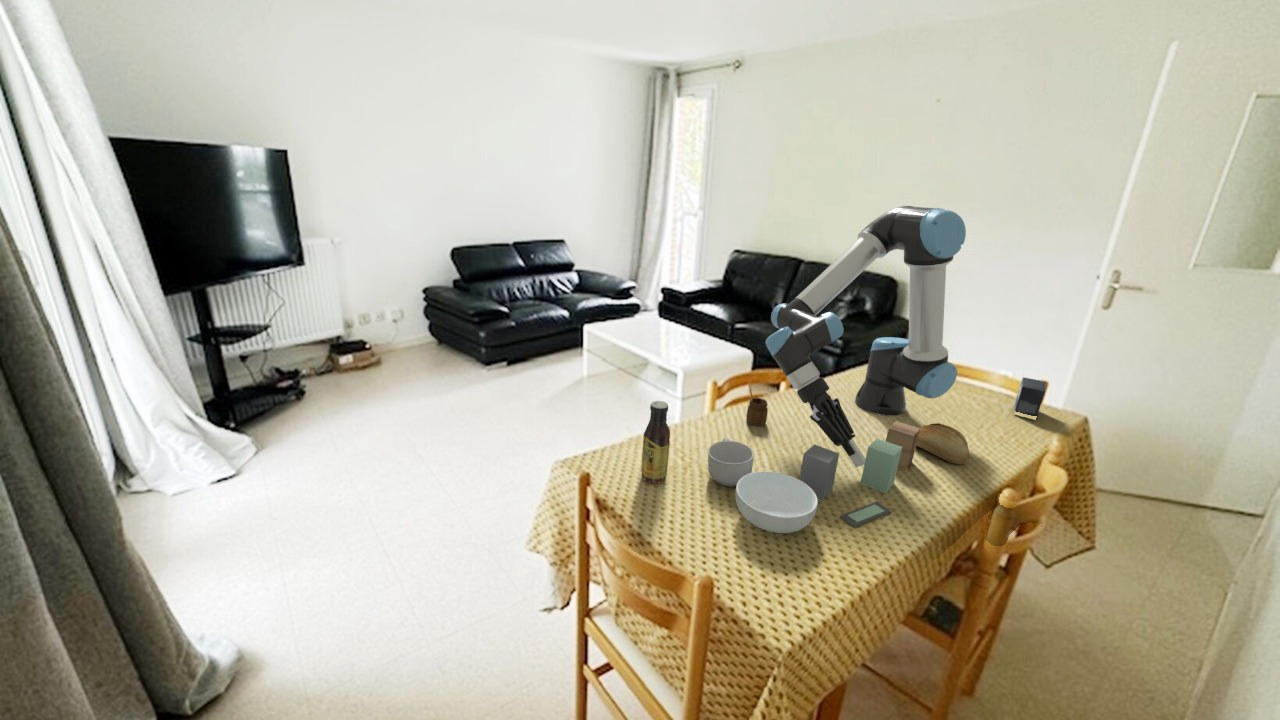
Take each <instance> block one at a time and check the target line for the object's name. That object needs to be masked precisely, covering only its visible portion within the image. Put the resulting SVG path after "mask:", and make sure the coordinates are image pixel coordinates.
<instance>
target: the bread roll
mask: <svg viewBox="0 0 1280 720" xmlns="http://www.w3.org/2000/svg"><path fill="white" fill-rule="evenodd" d="M919 428H920V431H919V435H918V439H917V443H916V447H919V448H921V449H923V450H925V451H927V452H929V453H931V454H933V455H936V457H939V458H941V459H943V460H945V461H946V462H948V463H951V464H953V465H963V464H966V463H967V461H968V460H969V456H970V449H969V446H968V441H967V439H966V438H965V435H963V433H961V432H960V431H959V430H957V429H955V428H954V427H951V426H950V425H947V424H943V423H939V422H937V423H930V424H927V425H923V426H921V427H920V426H919Z"/></svg>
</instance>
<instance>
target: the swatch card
mask: <svg viewBox="0 0 1280 720" xmlns="http://www.w3.org/2000/svg"><path fill="white" fill-rule="evenodd" d="M889 514H892V510H891V509H889V508H887V507H885V506H884V505H882V503H879V502H878V501H875V502H872V503H869V504H867V505H864V506H861V507H859V508H857V509H854V510H851V511H849V512H846V513H844V514H841V515H840V516H839V518H840V519H841V520H843V521H844V522H846V524H849V526H851V527H853V528H854V529H855V528H858V527H861V526H863V525H865V524H867V523H871V522H872V521H875V520H877V519H880V518H882V517H884V516H887V515H889Z"/></svg>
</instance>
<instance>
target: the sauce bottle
mask: <svg viewBox="0 0 1280 720" xmlns="http://www.w3.org/2000/svg"><path fill="white" fill-rule="evenodd" d="M649 409H650V417H649V421H648V424H647V426H646V429H644V432H643V439H642V440H643V441H642V454H641V455H642V456H641V467H640V471H641V478H642V480H643V481H645V482H647V483H648V484H660V483H663V482H664V481H665V480H666V479H667V474H668V464H669V463H668V462H669V456H670V455H669V453H670V452H669V451H670V444H671V443H670V436H671V430H670V426H668V423H667V416H668V415H667V414H668V412H669V404H668V403H667V402H666V401H662V400H654V401H652V402H651V404H650V407H649Z"/></svg>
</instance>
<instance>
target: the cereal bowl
mask: <svg viewBox="0 0 1280 720" xmlns="http://www.w3.org/2000/svg"><path fill="white" fill-rule="evenodd" d="M799 479H800V478H799ZM799 479H798V478H797V477H794V476H792V475H789V474H787V473H783V472H779V471H778V472H777V471H771V470H770V471H767V470H766V471H761V470H760V471H754V472H752V473H750V474H747V475H745V476H743V477H742V478H741V479H740V480H739V481H738V483H737V486H735V502H736V505H737V508H738V510H739V513H740V514H742V516H743V517H744V519H746V520H747V521H748V522H749V523H750V524H751V525H753V526H754V527H757V528H759V529H761V530H764V531H766V532H771V533H775V534H776V533H777V534H791V533H795V532H798V531H800V530H803V529H804V528H806V527H807V526H808V525H809V524H811V522H812V520H813V519H814V517H815V515H816V512H817V507H818V503H819V500H818V499H817V496H816V494H815V493H814V491H813V490H812V489H811V488H810V487H809V486H808V485H806V484H805V483H804V482H802V481H800V480H799Z"/></svg>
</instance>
